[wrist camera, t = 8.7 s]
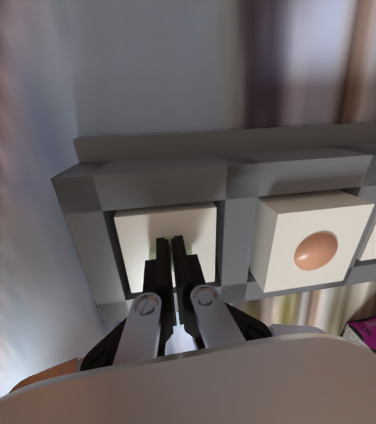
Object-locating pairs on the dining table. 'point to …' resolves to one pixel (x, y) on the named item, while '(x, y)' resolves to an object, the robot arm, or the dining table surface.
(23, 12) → the dining table surface
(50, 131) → the dining table surface
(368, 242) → the key slate
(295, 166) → the grey button panel
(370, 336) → the candy bar box
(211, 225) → the key sage
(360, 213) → the key terracotta
